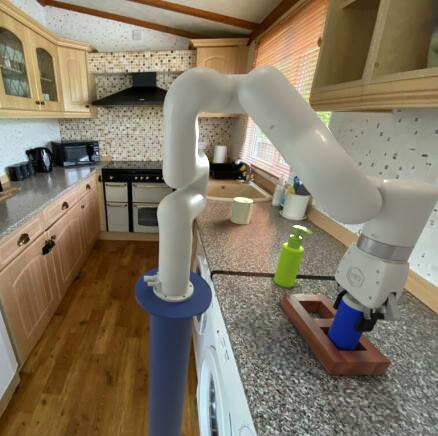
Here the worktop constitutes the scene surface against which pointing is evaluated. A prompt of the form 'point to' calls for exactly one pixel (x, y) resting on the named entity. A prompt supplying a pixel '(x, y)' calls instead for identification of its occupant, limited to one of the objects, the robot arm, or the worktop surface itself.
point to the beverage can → (346, 324)
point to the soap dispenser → (290, 258)
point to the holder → (319, 342)
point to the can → (241, 210)
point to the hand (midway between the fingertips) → (351, 318)
